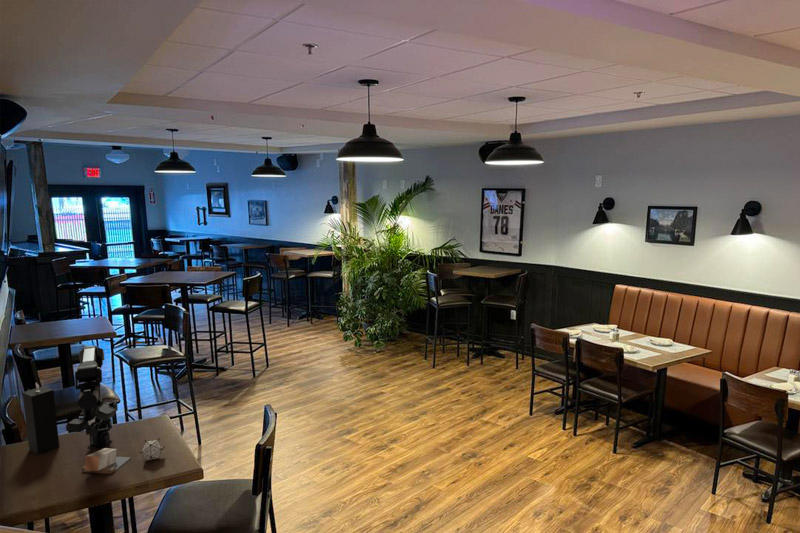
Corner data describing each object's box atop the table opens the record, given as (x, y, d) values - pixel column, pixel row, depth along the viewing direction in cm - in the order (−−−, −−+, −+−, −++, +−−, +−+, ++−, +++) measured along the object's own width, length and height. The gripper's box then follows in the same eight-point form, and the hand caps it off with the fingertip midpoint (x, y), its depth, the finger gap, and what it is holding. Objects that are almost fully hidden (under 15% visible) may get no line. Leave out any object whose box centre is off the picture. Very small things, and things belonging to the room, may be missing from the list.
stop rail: (82, 471, 187) (81, 468, 187) (86, 468, 189) (85, 465, 189) (111, 474, 186) (111, 470, 186) (115, 471, 188) (114, 467, 188)
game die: (155, 470, 195) (151, 459, 188) (136, 460, 196) (132, 449, 189) (171, 450, 201) (167, 438, 195) (153, 441, 203) (149, 429, 196)
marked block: (85, 456, 184) (104, 448, 194) (84, 470, 184) (104, 461, 194) (98, 457, 184) (116, 448, 194) (97, 471, 183) (116, 462, 193)
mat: (86, 468, 189) (86, 467, 189) (103, 456, 198) (102, 455, 198) (115, 471, 188) (115, 470, 188) (131, 458, 197) (130, 457, 197)
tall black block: (38, 455, 199) (30, 388, 195) (29, 450, 203) (21, 384, 199) (59, 447, 205) (52, 382, 201) (50, 442, 210) (43, 378, 205)
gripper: (91, 411, 175) (95, 452, 177) (127, 389, 193) (130, 427, 196) (62, 409, 176) (67, 449, 179) (101, 387, 195) (104, 425, 197)
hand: (94, 437), depth 188 cm, fingers closed
